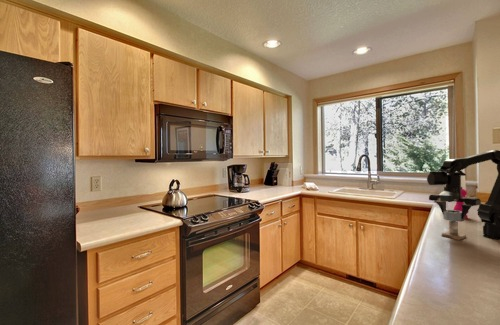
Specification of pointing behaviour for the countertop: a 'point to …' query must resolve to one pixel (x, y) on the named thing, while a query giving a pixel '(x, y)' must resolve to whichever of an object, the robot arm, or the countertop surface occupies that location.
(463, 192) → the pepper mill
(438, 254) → the countertop surface
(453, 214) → the steel collar
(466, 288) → the countertop surface
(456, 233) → the post stand
